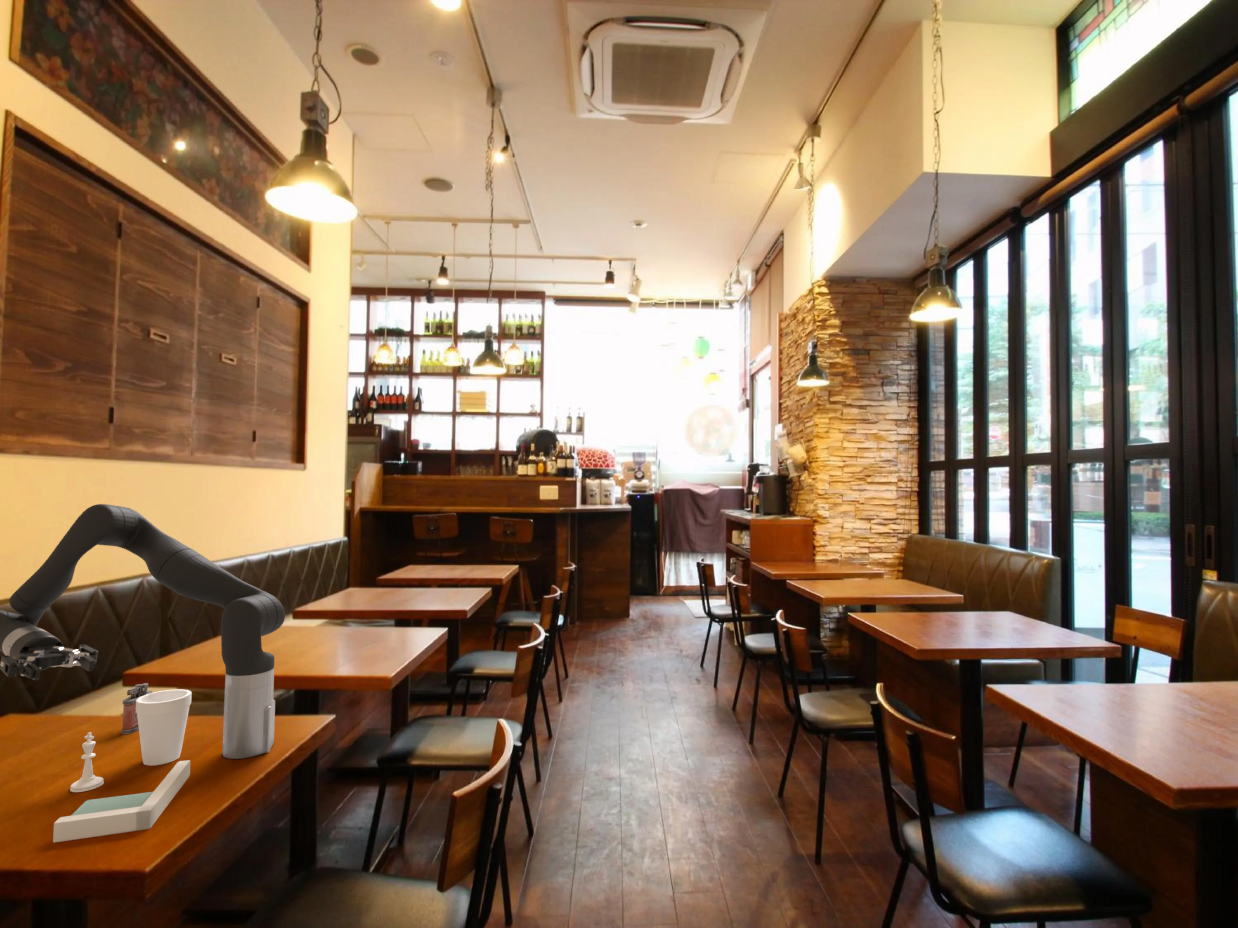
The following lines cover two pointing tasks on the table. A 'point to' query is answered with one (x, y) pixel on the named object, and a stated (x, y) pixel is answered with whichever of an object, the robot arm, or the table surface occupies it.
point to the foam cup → (162, 724)
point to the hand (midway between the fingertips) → (65, 670)
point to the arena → (121, 810)
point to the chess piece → (87, 769)
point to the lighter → (132, 708)
